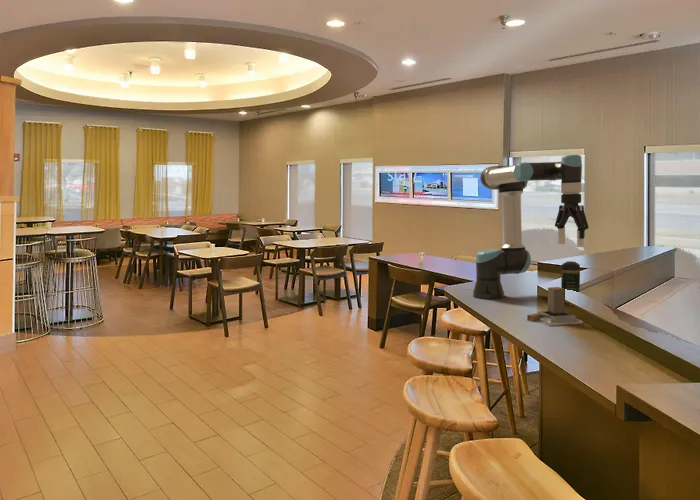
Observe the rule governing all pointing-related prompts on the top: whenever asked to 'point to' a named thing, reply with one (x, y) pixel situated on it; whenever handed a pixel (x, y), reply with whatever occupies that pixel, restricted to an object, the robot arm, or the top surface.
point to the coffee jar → (570, 276)
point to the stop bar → (556, 301)
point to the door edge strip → (533, 317)
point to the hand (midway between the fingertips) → (570, 245)
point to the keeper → (557, 319)
